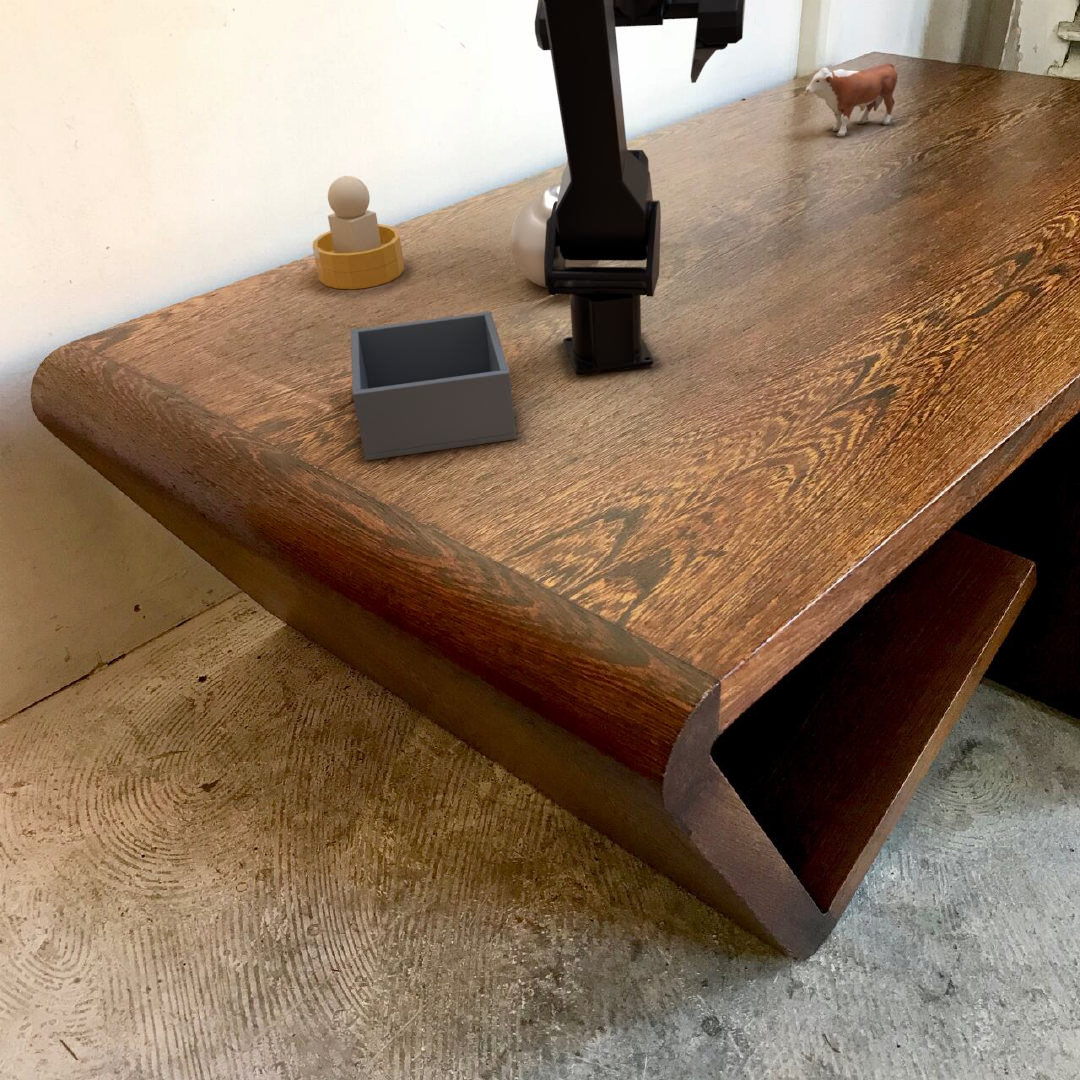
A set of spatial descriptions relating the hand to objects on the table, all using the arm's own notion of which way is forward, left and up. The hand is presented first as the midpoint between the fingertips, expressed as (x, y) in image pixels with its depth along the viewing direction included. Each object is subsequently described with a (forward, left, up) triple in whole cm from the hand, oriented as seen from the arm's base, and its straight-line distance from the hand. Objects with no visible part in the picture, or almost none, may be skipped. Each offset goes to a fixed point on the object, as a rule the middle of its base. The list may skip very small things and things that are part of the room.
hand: (646, 80), depth 103 cm
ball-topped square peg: (-3, +30, -14) cm, 34 cm away
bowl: (-3, +30, -15) cm, 34 cm away
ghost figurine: (-12, +11, -15) cm, 23 cm away
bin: (-34, +25, -15) cm, 45 cm away
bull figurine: (+27, -34, -15) cm, 45 cm away
